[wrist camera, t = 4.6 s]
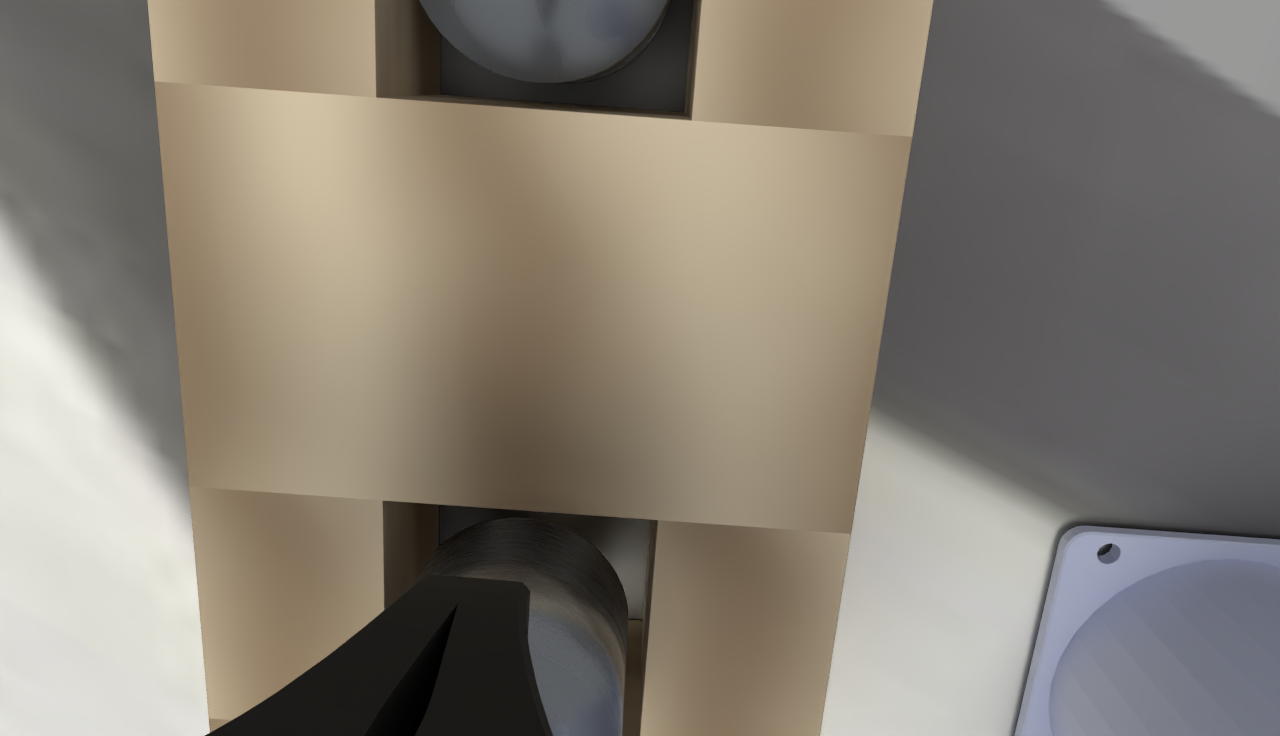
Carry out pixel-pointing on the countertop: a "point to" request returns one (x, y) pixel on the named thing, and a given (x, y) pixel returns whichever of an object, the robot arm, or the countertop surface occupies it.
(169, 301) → the countertop surface
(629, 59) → the peg
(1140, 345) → the countertop surface
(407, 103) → the socket block
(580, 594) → the peg
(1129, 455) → the countertop surface
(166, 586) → the countertop surface
